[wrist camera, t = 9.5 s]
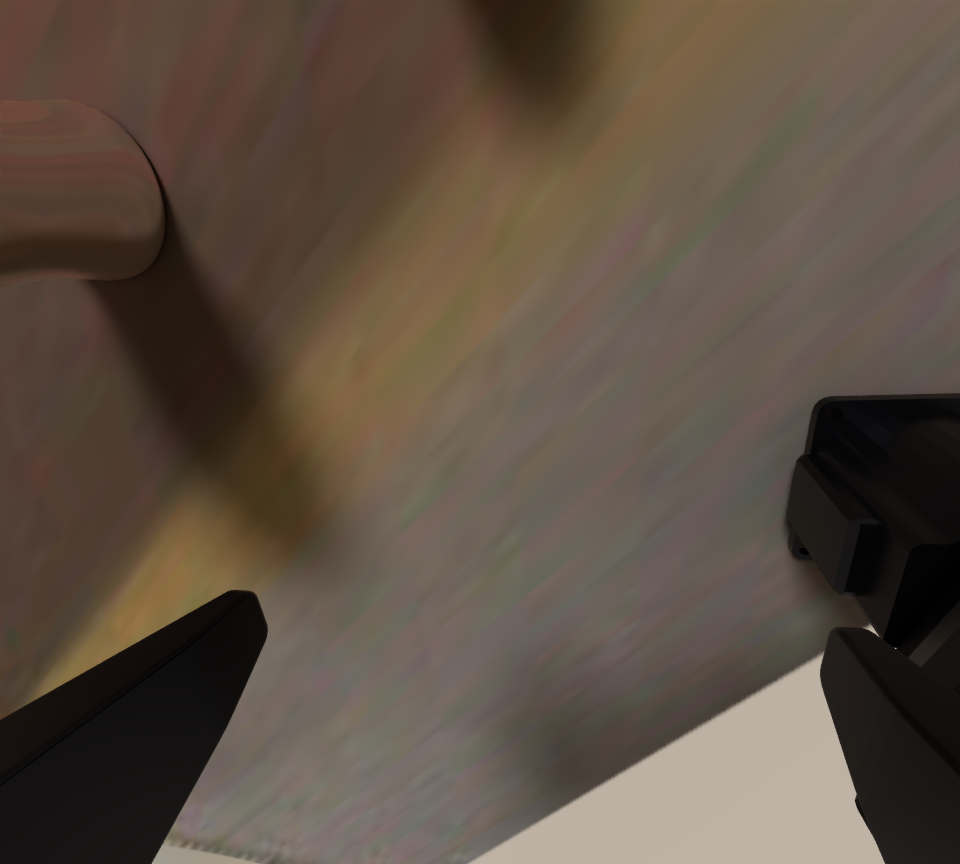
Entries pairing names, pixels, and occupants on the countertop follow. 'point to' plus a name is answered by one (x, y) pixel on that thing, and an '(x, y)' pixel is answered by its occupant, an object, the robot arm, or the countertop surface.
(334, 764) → the countertop surface
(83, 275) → the beer glass
